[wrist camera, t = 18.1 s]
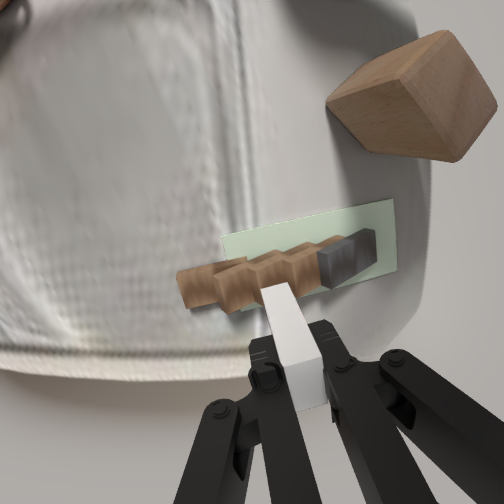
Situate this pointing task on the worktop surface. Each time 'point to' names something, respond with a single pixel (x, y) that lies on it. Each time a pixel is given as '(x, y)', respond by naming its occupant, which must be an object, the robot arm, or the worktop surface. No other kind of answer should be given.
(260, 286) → the domino
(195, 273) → the domino end
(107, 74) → the worktop surface
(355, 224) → the mat
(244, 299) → the domino
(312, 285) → the domino
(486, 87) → the block
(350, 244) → the dark gray domino
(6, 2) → the ceramic jug
